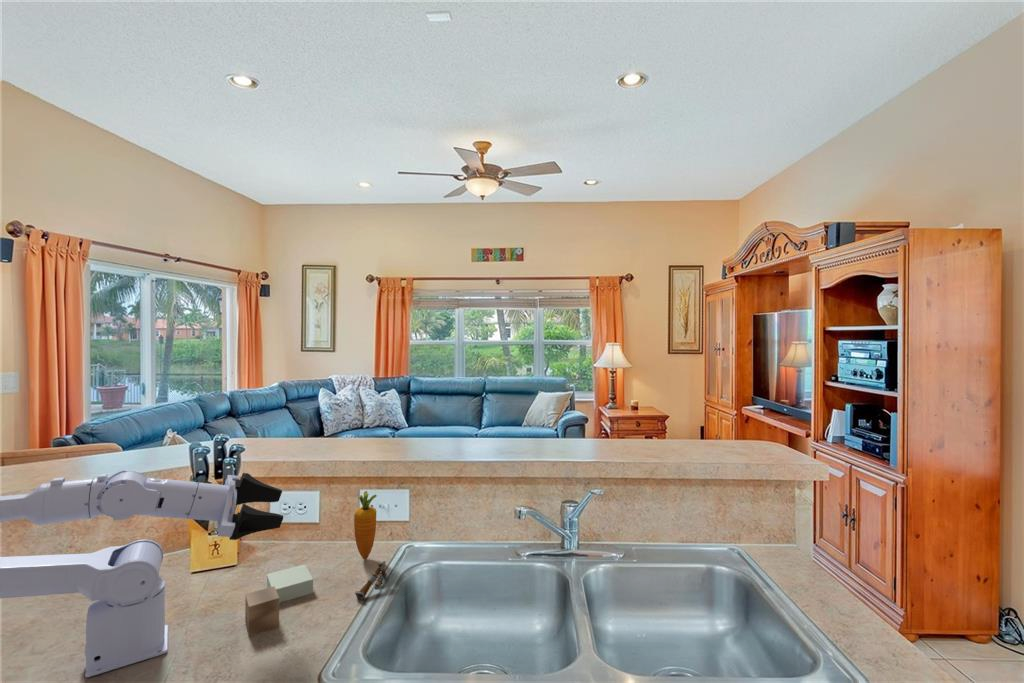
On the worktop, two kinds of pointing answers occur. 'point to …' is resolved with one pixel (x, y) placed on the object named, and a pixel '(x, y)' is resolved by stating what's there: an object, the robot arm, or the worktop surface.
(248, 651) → the worktop surface
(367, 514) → the carrot
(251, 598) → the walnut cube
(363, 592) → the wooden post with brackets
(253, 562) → the worktop surface
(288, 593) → the base block
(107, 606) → the robot arm
